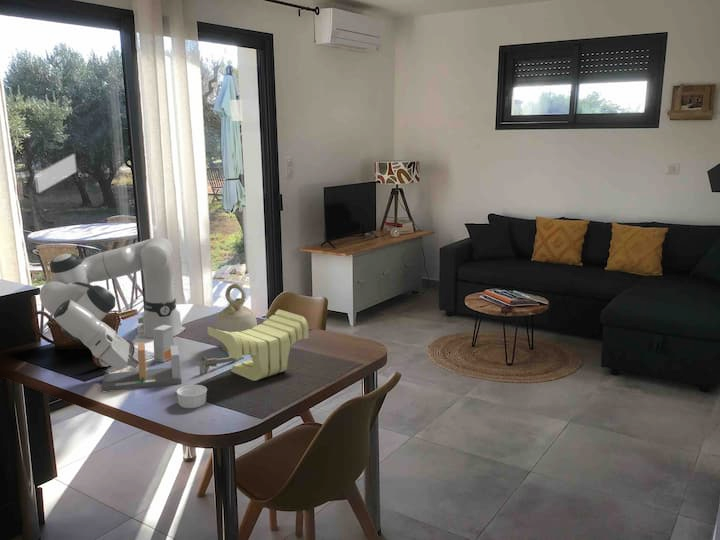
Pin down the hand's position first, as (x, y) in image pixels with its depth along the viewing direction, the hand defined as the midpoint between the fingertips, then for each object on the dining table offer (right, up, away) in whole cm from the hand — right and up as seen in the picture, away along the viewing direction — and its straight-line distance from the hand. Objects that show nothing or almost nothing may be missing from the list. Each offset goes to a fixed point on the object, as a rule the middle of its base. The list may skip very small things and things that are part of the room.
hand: (136, 365), depth 202 cm
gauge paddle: (+2, -4, 0) cm, 4 cm away
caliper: (+25, -3, +16) cm, 29 cm away
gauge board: (+1, -5, +2) cm, 6 cm away
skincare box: (+2, -1, +22) cm, 22 cm away
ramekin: (+22, -9, -15) cm, 29 cm away
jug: (+26, +1, +35) cm, 43 cm away
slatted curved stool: (+39, -4, +10) cm, 40 cm away
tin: (-13, -2, +17) cm, 22 cm away
